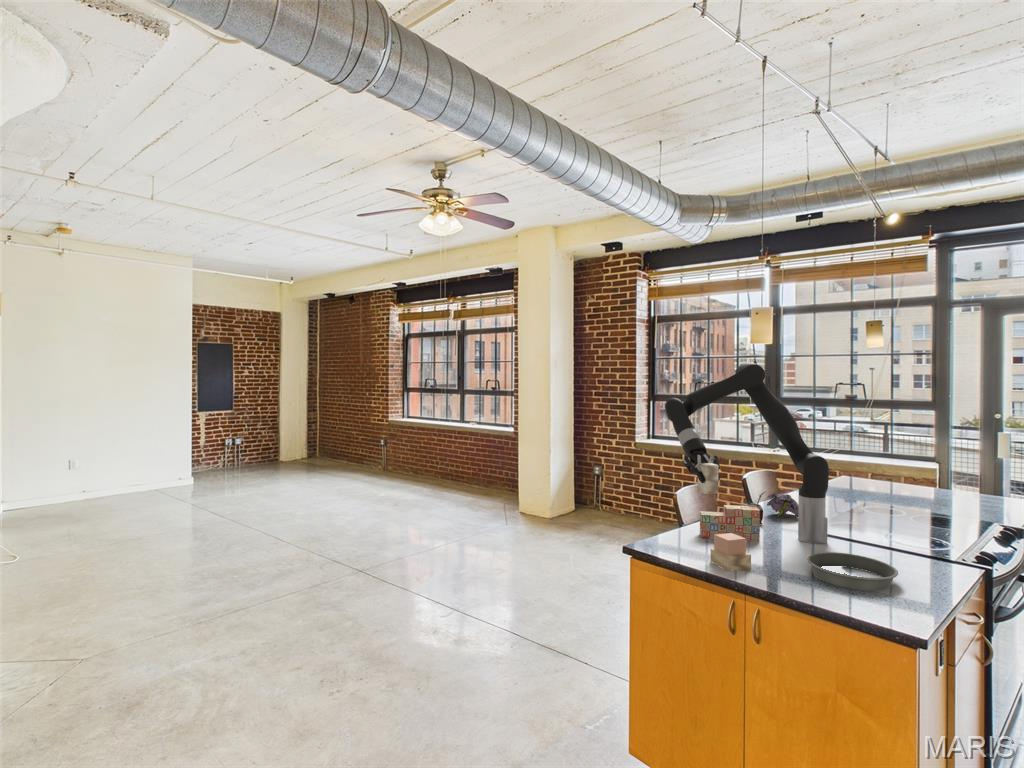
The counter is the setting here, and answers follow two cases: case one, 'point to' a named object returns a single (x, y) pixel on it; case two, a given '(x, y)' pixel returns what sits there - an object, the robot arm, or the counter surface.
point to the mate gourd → (758, 507)
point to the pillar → (709, 478)
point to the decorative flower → (783, 504)
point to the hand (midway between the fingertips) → (711, 481)
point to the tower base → (731, 560)
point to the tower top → (730, 544)
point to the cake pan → (855, 562)
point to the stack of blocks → (732, 522)
